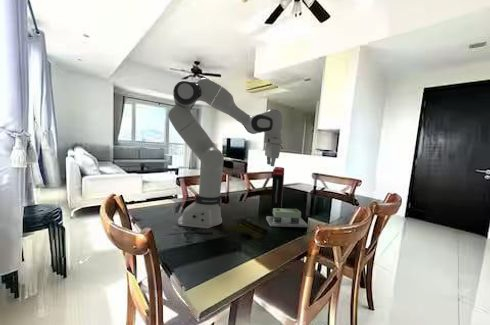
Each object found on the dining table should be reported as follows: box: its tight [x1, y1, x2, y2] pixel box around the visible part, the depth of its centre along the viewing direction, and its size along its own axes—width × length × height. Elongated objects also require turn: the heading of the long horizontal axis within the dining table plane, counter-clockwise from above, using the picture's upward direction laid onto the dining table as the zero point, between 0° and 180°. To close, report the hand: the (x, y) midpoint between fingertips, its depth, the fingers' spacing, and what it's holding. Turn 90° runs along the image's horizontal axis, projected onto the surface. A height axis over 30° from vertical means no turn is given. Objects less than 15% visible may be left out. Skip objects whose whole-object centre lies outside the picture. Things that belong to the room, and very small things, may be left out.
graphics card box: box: [270, 166, 285, 214], centre depth 143 cm, size 17×7×27 cm, turn 168°
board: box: [272, 208, 302, 218], centre depth 121 cm, size 14×6×3 cm, turn 95°
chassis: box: [265, 208, 308, 228], centre depth 121 cm, size 20×11×8 cm, turn 96°
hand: (270, 165), depth 122 cm, fingers open, 8 cm apart
